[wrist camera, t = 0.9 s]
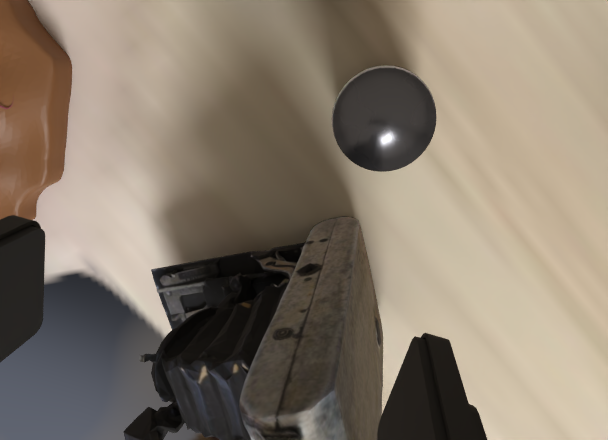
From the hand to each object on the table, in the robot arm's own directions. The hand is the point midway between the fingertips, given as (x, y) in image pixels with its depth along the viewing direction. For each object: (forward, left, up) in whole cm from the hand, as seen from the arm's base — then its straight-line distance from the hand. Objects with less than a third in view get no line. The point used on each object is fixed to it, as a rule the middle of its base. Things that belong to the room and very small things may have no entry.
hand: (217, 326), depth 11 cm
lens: (-4, -4, -21) cm, 22 cm away
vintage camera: (+3, +10, -22) cm, 24 cm away
